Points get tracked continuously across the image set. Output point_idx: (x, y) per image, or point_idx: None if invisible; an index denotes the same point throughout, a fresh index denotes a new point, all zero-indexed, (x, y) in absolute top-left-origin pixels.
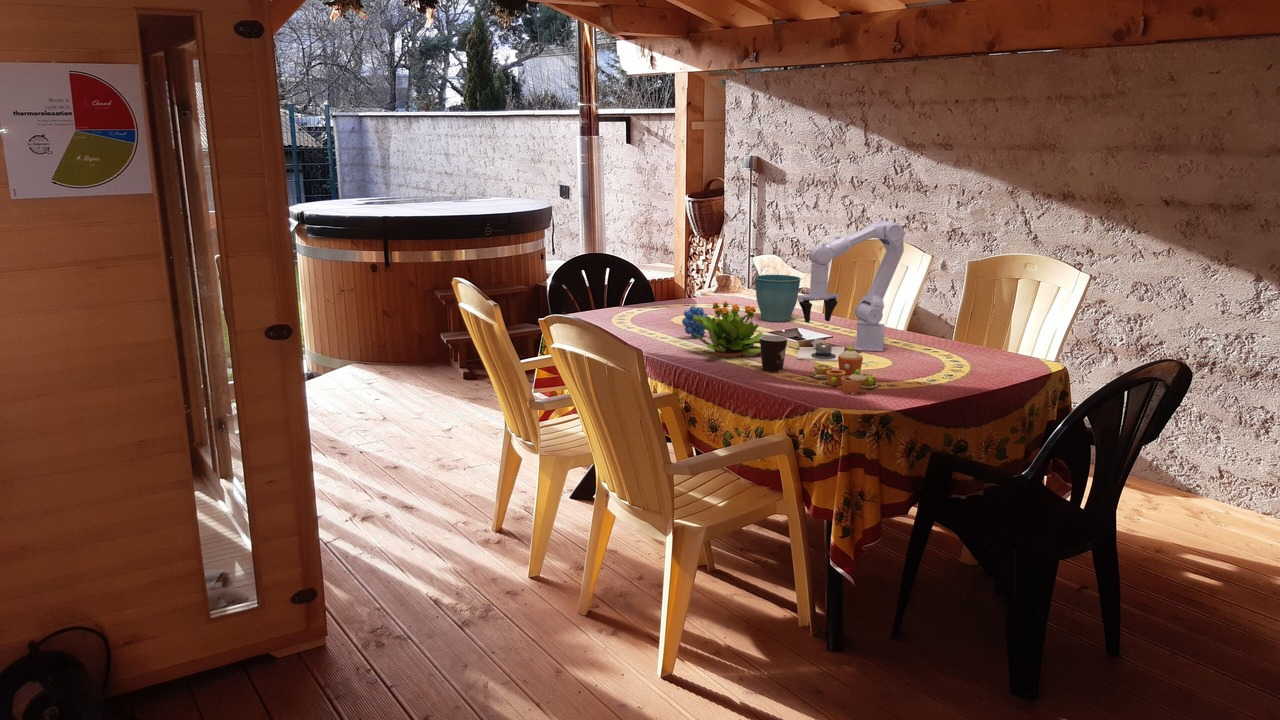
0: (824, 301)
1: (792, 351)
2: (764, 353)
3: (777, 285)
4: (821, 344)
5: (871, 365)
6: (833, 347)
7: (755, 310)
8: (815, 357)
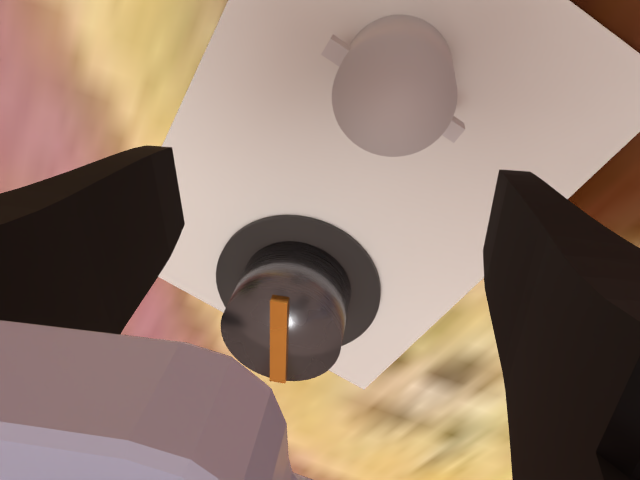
0: (627, 338)
1: (161, 11)
2: None
3: None
4: (266, 327)
5: (462, 470)
6: (570, 66)
7: None
8: (225, 302)
